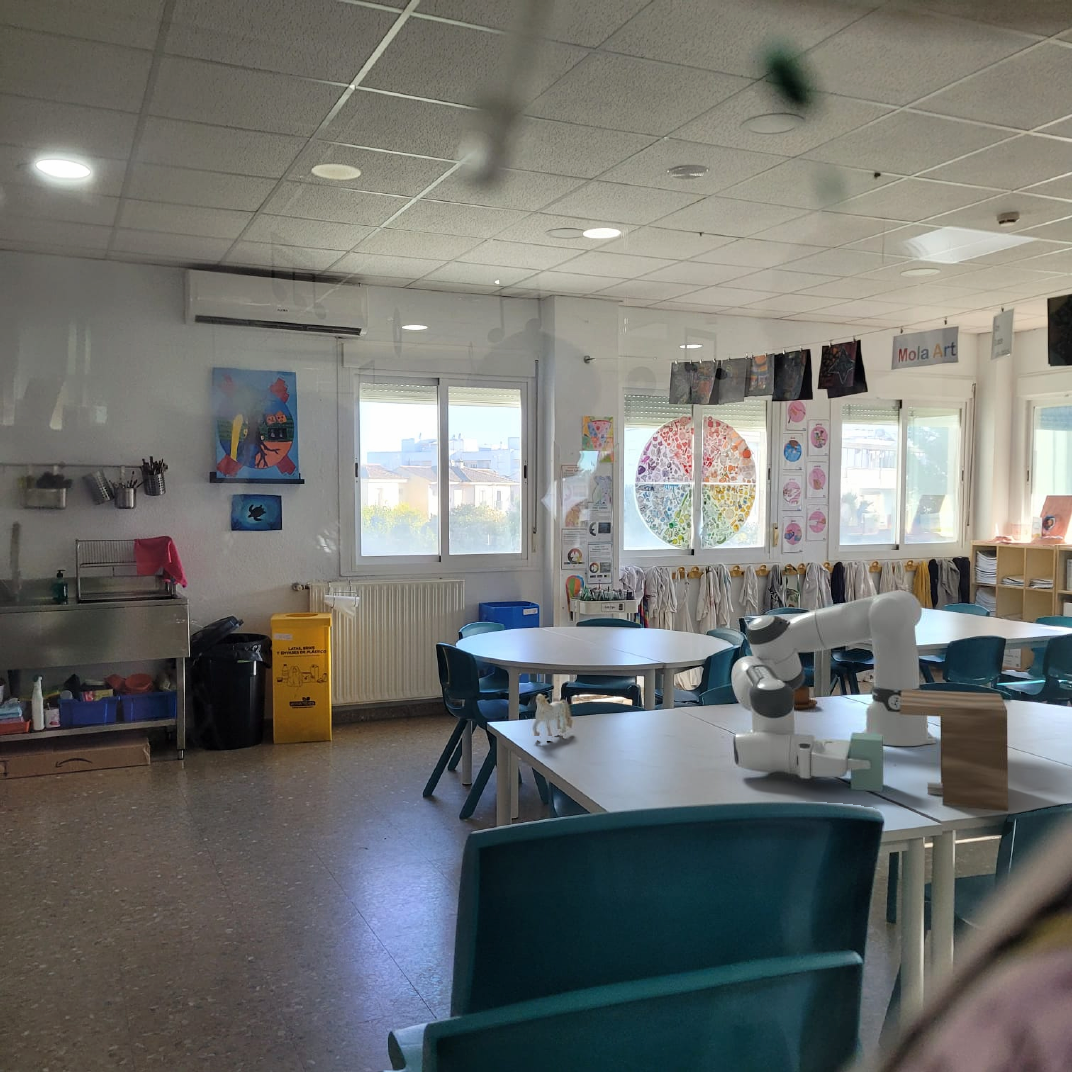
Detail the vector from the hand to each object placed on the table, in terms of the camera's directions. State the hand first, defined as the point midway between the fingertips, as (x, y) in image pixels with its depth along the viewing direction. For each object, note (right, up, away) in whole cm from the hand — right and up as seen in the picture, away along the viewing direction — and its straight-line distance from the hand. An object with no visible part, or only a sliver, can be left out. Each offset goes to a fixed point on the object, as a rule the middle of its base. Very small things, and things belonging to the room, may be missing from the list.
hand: (871, 759), depth 215 cm
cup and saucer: (+8, -5, +91) cm, 92 cm away
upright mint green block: (-1, -6, 0) cm, 6 cm away
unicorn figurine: (-67, -7, +49) cm, 83 cm away
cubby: (+16, -6, -6) cm, 18 cm away
